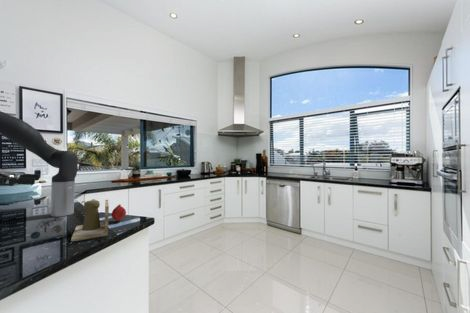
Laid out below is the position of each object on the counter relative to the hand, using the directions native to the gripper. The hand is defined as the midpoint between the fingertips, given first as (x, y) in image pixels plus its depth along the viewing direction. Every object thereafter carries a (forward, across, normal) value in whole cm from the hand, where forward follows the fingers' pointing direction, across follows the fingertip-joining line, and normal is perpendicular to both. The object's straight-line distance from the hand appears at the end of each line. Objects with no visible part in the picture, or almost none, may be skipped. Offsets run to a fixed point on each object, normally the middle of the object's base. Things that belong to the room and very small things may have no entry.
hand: (37, 179), depth 73 cm
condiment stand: (+19, -5, +19) cm, 27 cm away
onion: (+30, +5, +19) cm, 35 cm away
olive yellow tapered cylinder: (+19, -4, +18) cm, 26 cm away
